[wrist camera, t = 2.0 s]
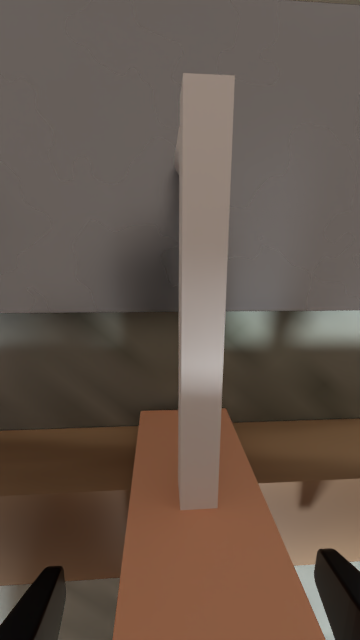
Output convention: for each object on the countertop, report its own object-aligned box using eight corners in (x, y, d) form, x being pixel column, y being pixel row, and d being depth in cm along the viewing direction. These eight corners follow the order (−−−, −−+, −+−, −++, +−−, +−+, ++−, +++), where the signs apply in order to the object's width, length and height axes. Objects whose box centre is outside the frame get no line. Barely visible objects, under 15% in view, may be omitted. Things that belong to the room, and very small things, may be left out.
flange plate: (457, 304, 11) (489, 309, 10) (-134, 308, 9) (-172, 314, 8) (513, 44, 9) (560, 16, 8) (-206, 2, 7) (-265, -39, 6)
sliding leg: (220, 520, 11) (307, 893, 5) (143, 524, 11) (120, 921, 4) (236, 161, 9) (501, -162, 2) (133, 158, 8) (35, -213, 2)
